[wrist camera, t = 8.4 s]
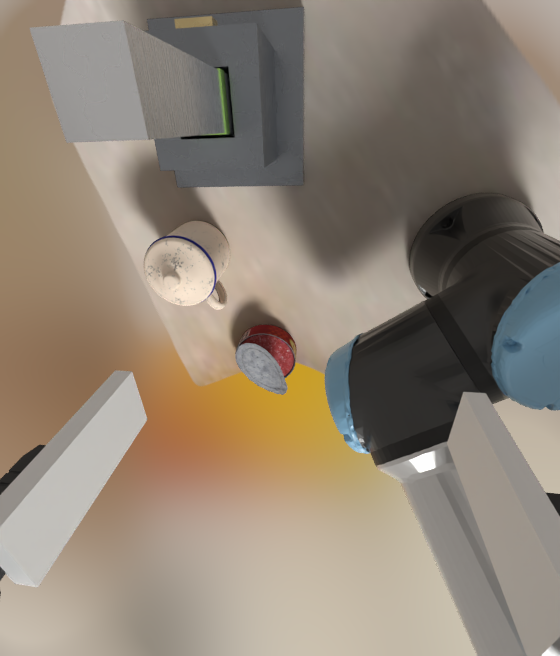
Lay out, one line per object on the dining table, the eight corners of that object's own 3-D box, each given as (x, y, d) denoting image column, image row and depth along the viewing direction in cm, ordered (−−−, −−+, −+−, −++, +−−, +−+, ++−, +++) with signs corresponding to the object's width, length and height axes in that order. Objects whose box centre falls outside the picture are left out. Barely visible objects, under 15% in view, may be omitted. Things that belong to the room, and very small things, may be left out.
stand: (304, 11, 33) (295, -38, 23) (303, 183, 42) (297, 202, 31) (153, 23, 35) (84, -18, 25) (182, 185, 43) (138, 204, 33)
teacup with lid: (158, 240, 48) (115, 270, 38) (205, 205, 44) (171, 228, 35) (210, 303, 52) (184, 345, 43) (256, 276, 49) (239, 314, 39)
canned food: (286, 354, 62) (273, 405, 57) (236, 335, 60) (219, 386, 55) (314, 332, 52) (302, 391, 48) (256, 307, 50) (238, 367, 45)
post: (236, 77, 30) (125, 17, 13) (240, 132, 32) (150, 141, 16) (190, 79, 31) (26, 24, 14) (197, 134, 33) (65, 144, 16)
